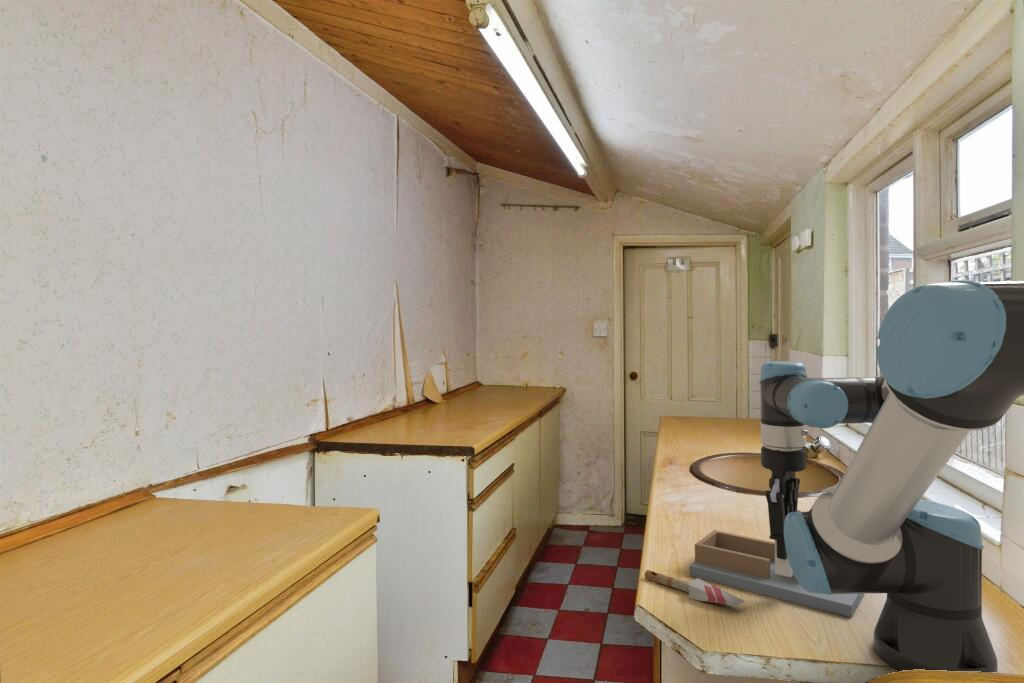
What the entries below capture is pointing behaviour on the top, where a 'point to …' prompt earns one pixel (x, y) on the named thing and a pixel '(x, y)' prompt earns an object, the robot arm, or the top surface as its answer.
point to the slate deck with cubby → (759, 572)
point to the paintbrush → (696, 589)
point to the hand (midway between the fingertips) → (783, 573)
